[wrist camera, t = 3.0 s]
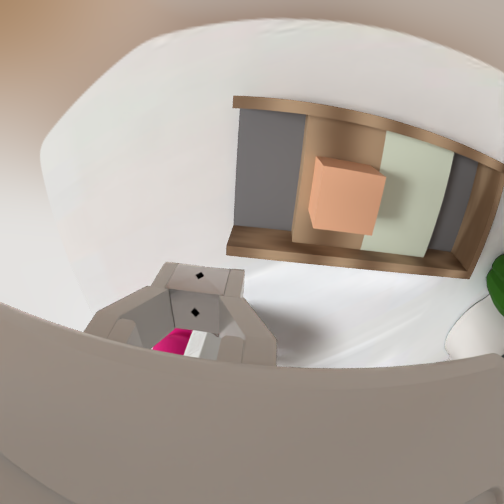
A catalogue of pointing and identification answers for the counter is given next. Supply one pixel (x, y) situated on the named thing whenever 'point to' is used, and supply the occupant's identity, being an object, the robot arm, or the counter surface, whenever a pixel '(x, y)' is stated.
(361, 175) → the block
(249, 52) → the counter surface
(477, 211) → the box
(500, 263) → the bell pepper
